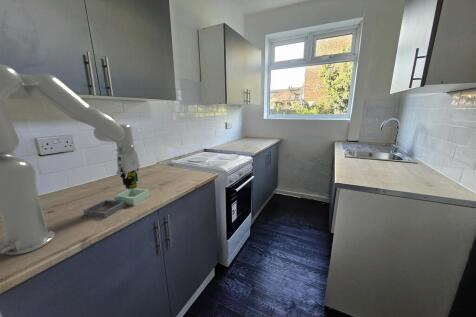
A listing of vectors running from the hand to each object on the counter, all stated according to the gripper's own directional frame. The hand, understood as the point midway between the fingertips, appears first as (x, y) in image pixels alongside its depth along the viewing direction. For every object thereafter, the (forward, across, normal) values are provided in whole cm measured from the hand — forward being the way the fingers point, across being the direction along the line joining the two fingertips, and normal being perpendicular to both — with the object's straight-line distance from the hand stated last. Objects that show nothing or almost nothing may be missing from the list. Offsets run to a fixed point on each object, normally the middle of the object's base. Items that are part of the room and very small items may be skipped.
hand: (130, 182), depth 103 cm
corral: (+10, -13, +4) cm, 17 cm away
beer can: (+3, 0, 0) cm, 3 cm away
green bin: (+10, 0, 0) cm, 10 cm away
